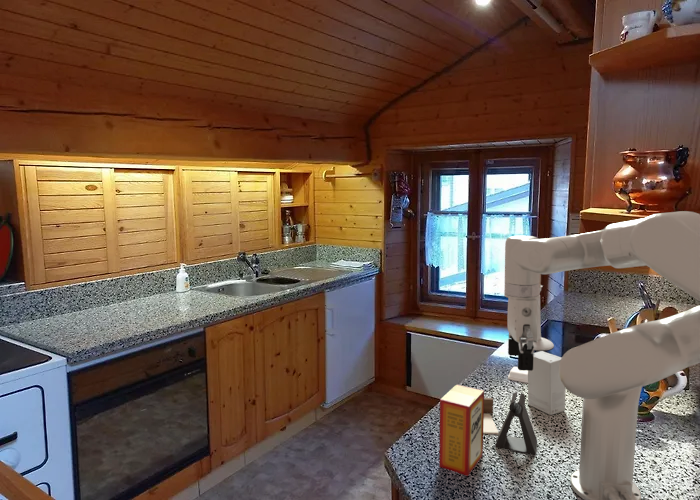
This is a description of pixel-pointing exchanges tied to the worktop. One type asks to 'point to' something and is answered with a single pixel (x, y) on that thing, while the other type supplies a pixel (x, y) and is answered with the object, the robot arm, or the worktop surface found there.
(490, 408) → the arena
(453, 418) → the baking soda box
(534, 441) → the black tapered piece
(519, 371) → the soap
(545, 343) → the candlestick
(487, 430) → the pad
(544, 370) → the skincare box
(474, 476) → the worktop surface
